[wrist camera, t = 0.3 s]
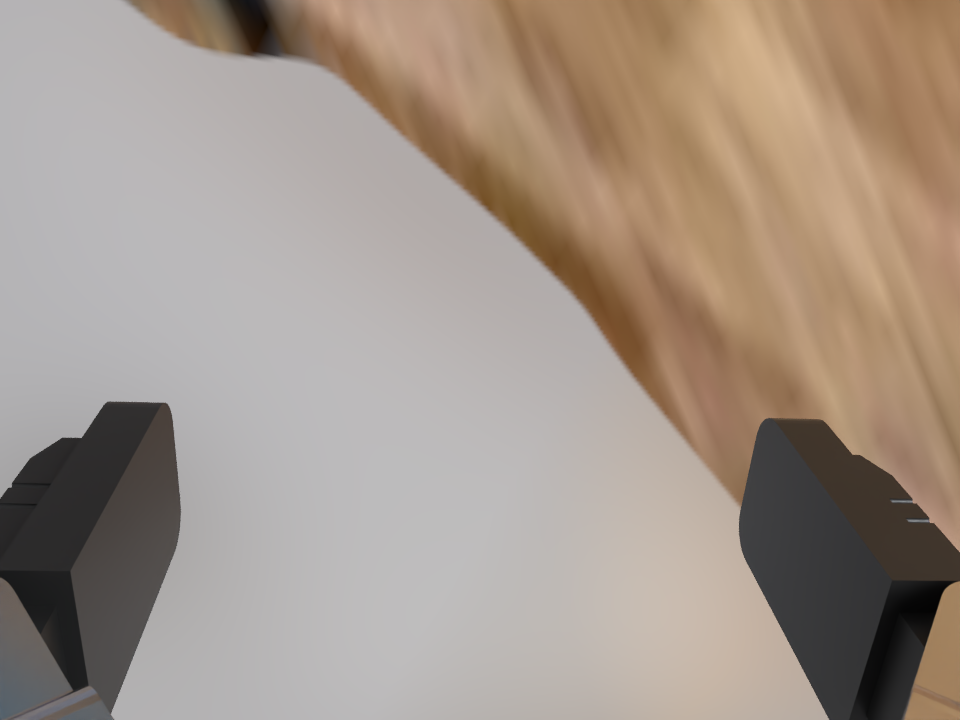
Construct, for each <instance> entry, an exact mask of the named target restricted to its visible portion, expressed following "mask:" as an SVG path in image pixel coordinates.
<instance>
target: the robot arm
mask: <svg viewBox="0 0 960 720" xmlns="http://www.w3.org/2000/svg"><path fill="white" fill-rule="evenodd" d="M180 508H181V507H180V494H179V484H178V472H177V462H176V452H175V441H174V430H173V420H172V414H171V411H170V408H169V406H168V404H166V403H148V402H107V403H106V404H105V405H104V406H103V407H102V409H101V410H100V412H99V413H98V415H97V416H96V418H95V419H94V421H93V422H92V424H91V425H90V427H89V428H88V430H87V431H86V433H85V434H84V436H83V437H82V438H61V439H60V440H58V441H57V442H55V443H54V444H52V445H51V446H49V447H47V448H46V449H44V450H43V451H41V452H39V453H38V454H36V455H35V456H33V457H32V458H30V460H29V461H28V462H27V463H26V465H25V466H24V468H23V469H22V470H21V472H20V473H19V474H18V476H17V477H16V478H15V480H14V481H13V483H12V488H8V489H7V490H6V492H5V493H4V495H3V496H2V497H1V499H0V720H114V719H113V717H112V716H111V712H112V709H113V707H114V704H115V702H116V699H117V697H118V694H119V692H120V689H121V687H122V684H123V681H124V679H125V676H126V674H127V671H128V669H129V666H130V664H131V661H132V659H133V656H134V653H135V651H136V648H137V646H138V644H139V641H140V638H141V636H142V633H143V631H144V628H145V626H146V623H147V621H148V618H149V615H150V613H151V611H152V608H153V605H154V603H155V600H156V598H157V595H158V593H159V590H160V588H161V585H162V583H163V580H164V578H165V575H166V573H167V570H168V567H169V565H170V562H171V560H172V557H173V555H174V552H175V549H176V546H177V542H178V536H179V529H180V515H181V509H180ZM739 536H740V543H741V548H742V552H743V555H744V558H745V560H746V562H747V564H748V565H749V567H750V569H751V571H752V573H753V575H754V577H755V579H756V581H757V583H758V585H759V587H760V588H761V590H762V592H763V594H764V596H765V598H766V600H767V602H768V604H769V606H770V607H771V609H772V611H773V613H774V615H775V617H776V619H777V621H778V623H779V625H780V627H781V628H782V630H783V632H784V634H785V636H786V638H787V640H788V642H789V644H790V645H791V648H792V649H793V651H794V653H795V655H796V657H797V659H798V661H799V663H800V665H801V667H802V669H803V670H804V672H805V674H806V676H807V678H808V680H809V682H810V684H811V686H812V688H813V689H814V691H815V693H816V695H817V697H818V699H819V701H820V703H821V704H822V707H823V708H824V710H825V712H826V714H827V716H828V718H829V720H960V552H959V551H958V550H957V549H956V548H955V547H954V546H953V544H952V543H951V542H950V541H949V540H948V539H947V538H946V536H945V535H944V534H943V533H942V532H941V531H940V530H939V529H938V527H937V526H936V525H935V524H934V523H930V522H929V517H928V516H927V515H926V514H925V513H924V511H923V510H922V509H921V508H920V507H919V506H918V505H917V504H913V502H912V498H911V497H910V495H909V494H908V493H907V492H906V491H905V490H904V489H903V487H902V486H901V485H900V484H899V483H898V482H897V481H896V480H895V478H894V477H893V476H892V475H890V474H889V473H887V472H886V471H884V470H882V469H881V468H879V467H878V466H876V465H875V464H873V463H871V462H870V461H868V460H867V459H865V458H864V457H862V456H860V455H852V454H851V452H850V451H849V450H848V449H847V448H846V446H845V445H844V444H843V443H842V442H841V440H840V439H839V438H838V437H837V436H836V434H835V433H834V432H833V431H832V430H831V428H830V427H829V426H828V425H827V424H826V423H825V422H824V421H822V420H819V419H783V418H768V419H765V420H764V421H763V422H762V423H761V425H760V427H759V430H758V433H757V436H756V441H755V446H754V450H753V455H752V460H751V464H750V469H749V474H748V478H747V483H746V488H745V492H744V497H743V502H742V506H741V511H740V518H739Z"/></svg>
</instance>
